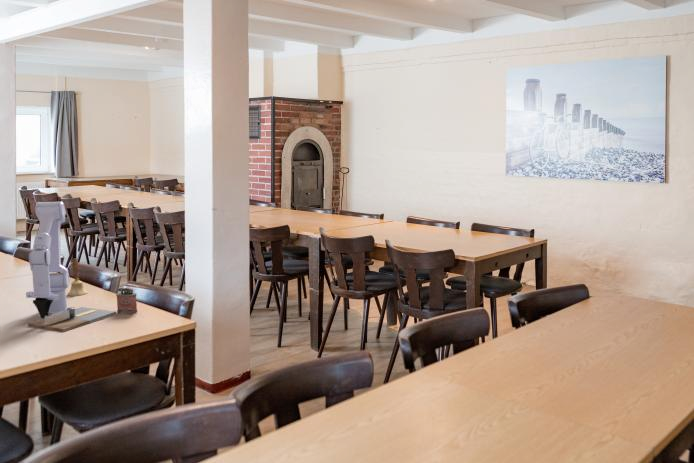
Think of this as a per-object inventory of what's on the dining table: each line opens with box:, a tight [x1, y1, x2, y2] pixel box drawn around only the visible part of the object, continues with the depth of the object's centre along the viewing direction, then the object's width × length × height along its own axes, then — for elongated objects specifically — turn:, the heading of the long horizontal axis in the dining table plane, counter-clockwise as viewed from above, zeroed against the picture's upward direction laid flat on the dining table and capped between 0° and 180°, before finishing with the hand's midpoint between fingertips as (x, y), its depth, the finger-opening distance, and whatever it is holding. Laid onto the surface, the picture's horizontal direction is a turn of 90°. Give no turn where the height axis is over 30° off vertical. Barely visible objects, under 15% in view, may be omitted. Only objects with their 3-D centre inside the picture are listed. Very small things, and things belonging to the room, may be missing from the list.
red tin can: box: [115, 286, 138, 314], centre depth 273 cm, size 8×3×10 cm, turn 84°
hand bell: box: [67, 258, 88, 297], centre depth 305 cm, size 8×8×16 cm
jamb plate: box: [27, 318, 90, 333], centre depth 256 cm, size 18×12×1 cm, turn 65°
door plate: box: [73, 306, 117, 324], centre depth 268 cm, size 18×14×1 cm
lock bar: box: [44, 306, 76, 325], centre depth 257 cm, size 13×3×3 cm, turn 155°
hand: (44, 317), depth 257 cm, fingers closed
